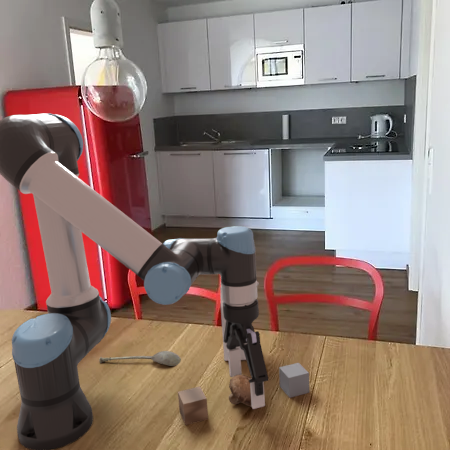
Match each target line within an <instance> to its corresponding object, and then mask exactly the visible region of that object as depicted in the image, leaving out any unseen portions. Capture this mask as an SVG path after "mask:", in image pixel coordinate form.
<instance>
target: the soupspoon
mask: <svg viewBox="0 0 450 450" xmlns="http://www.w3.org/2000/svg"><path fill="white" fill-rule="evenodd" d="M135 359H136V360H138V359H141V360H151V361H152V362H155V363H158V364H161V365H164V366H168V367H169V366H170V367H174V366H175V367H177V366H178V365H179V364H180V363H181V361H182V357H180V356H179V354H177V353H175V352H173V351H171V350H170V351H169V350H161V351H158V352H156V353H155V354H153V355H152V356H151V355H150V356H149V355H135V356H134V355H133V356H119V357H110V356H109V357H102V356H101V357H99V361H98V362H99V364H102V363H105V362H108V361H110V362H111V361H113V360H114V361H115V360H116V361H117V360H135Z"/></svg>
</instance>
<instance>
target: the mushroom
mask: <svg viewBox="0 0 450 450" xmlns="http://www.w3.org/2000/svg"><path fill="white" fill-rule="evenodd" d="M250 379H252V378H251V376H248V375H245V374H242V375H235V376H234V377H231V378H230V381H229V384H228V387H229V390H230V392H231V393H230V394H229V395H228V400H229V403H231V404H232V405H239V404H240V403H242V404H244V405H245V406H249V407H251V408H252V405H251V390H250V383H249V380H250Z"/></svg>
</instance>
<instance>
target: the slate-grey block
mask: <svg viewBox="0 0 450 450" xmlns="http://www.w3.org/2000/svg"><path fill="white" fill-rule="evenodd" d="M278 374H279V375H278V376H279V387H280V388H281V389H282V391H283V393H285V395H286V396H287V397H288V398H295V397H298V396H301V395H305V394H308V393H310V373H309V371H308V370H307V369H306V368H305V367H304V366H303V365H302V364H301V363H299V362H296V363H295V362H294V363H292V364H288V365H287V364H286V365H283V366H279V367H278Z"/></svg>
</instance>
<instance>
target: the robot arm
mask: <svg viewBox="0 0 450 450" xmlns="http://www.w3.org/2000/svg"><path fill="white" fill-rule="evenodd" d="M83 152H84V140H83V136H82V133H81V131H80V129H79V128H78V126H77V125H76V124H75V123H74V122H73V121H72V120H71V119H69V118H67V117H65V116H63V115H60V114H56V113H55V114H53V113H50V112H49V113H45V112H44V113H43V112H42V113H37V114H12V115H9V116H6V117H3V118H1V119H0V176H2V177H3V178H4V180H6V181H7V182H8V183H9V184H10V185H11V186H13V187H14V188H15V189H16V190H18V191H19V192H20V193H22V194H24V195H28V194H32V196H33V200H34V202H33V203H34V207H35V211H36V216H37V221H38V222H37V223H38V228H39V233H40V239H41V244H42V248H43V253H44V259H45V263H46V264H45V265H46V271H47V276H48V280H49V287H50V291H51V292H50V295H49V296H48V297H47V299H46V301H45V304H46V308H47V309H46V310H47V313H43V314H41V315H37V316H36V317H35V318H30V319H28V320H26V321H24V322H23V323H22V324H20V325H19V326H18V327H17V329H15V331H14V332H13V335H12V338H11V348H12V349H11V355H12V359H13V361H14V362H13V363H14V367H15V373H16V379H17V382H18V390H19V394H20V399H21V400H20V401H21V404H20V408H19V409H20V410H19V414H18V419H17V425H16V432H17V437H18V441H19V443H20V445H22V446H23V447H24V448H26V449H29V450H56V449H58V448H59V449H60V448H63V447H65V446H67V445H70V444H72V443H74V442H75V441H77V440H78V439H80V438H82V437H83V436H84V435H86V434H87V432H88V431H89V430H90V428H91V426H92V425H93V424H94V423H93V422H94V415H93V408H92V405H91V403H90V401H89V400H88V398H87V396H86V395H85V393H84V391H83V389H82V387H81V384H80V378H79V369H78V365H79V363H80V362H81V361H82V360H83V359H84V358H85V357H86V356H87V355H88V354H89V353H90V352H91V351H92V350H93V349H94V348H95V347H96V346H97V345H98V344H100V343H101V341H102V340H103V339H104V338H105V336H106V334H107V333H108V331H109V329H110V327H111V323H112V314H111V310H110V307H109V305H108V303H107V302H106V301H104V300H103V297H101V296H100V292H99V290H98V288H96V287H94V286H93V285H91V280H90V274H89V268H88V263H87V255H86V249H85V244H84V239H83V235H85V236H86V237H88V238H89V239H90V240H91V241H93V242H94V243H95V244H97V245H98V246H99V247H100V248H102V250H105V252H107V253H108V254H110V256H112V257H114V258H115V260H117V261H118V262H119V263H121V264H122V265H124V266H125V267H126V268H127V269H129V270H130V271H132V273H134V275H136V276H137V277H139V278H140V279H141V280H142V281H143V287H144V290H145V292H146V295H147V297H148V298H149V299H150V300H152V301H153V302H154V303H156V304H158V305H159V304H160V305H164V306H165V305H167V306H168V305H173V304H175V303H177V302H178V301H179V300H180V299H182V298H183V296H185V295H186V294H187V293H188V292H189V290H190V287H191V286H192V285H193V283H194V282H195V281H196V280H197V278H198V277H199V275H219V276H220V287H221V293H222V300H223V301H224V302H223V315H224V318H225V320H226V325H225V333H224V342H225V343H227V346H226V347H227V349H229V350H228V359H229V361H228V369H229V370H228V371H229V372H228V373H229V377H230V378H233V377H234V376H235V375H243V373H242V360H241V357H240V349H239V348H236V347H239V346H240V348H241V349H242V350H243V351H244V354H245V357H246V360H245V361H246V363H247V367H248V370H249V375H250V378H251V379H250V380H249V383H250V390H251V405H252V407H251V408H252V410H256V409H258V408H263V407H265V406H266V403H265V402H266V400H265V397H266V396H265V382H268V381H269V375H268V371H267V366H266V361H265V358H264V353H263V348H262V344H261V336H260V335H261V334H260V332H259V331H258V330H257V331H255V328H254V326H253V322H254V321H256V320H257V319H258V317H259V315H260V313H259V312H260V310H259V309H260V308H259V300H258V299H257V298H258V286H259V281H257V279H258V277H257V260H256V259H257V258H256V250H257V249H256V245H255V240H254V232H253V230H252V229H251V228H250V227H247V226H244V225H243V226H240V225H235V226H234V225H232V226H225V227H222V228H220V229H219V230H218V231H217V236H216V237H214V238H205V237H204V238H184V237H183V238H182V237H179V238H178V237H177V238H174V239H167V240H165V241H164V242H161V241H160V240H159V239H157V238H156V237H155V236H153V235H152V234H151V233H150V232H148V231H147V230H146V229H144V228H143V227H142V226H141V225H139V224H138V223H137V222H135V221H134V220H133V219H132V218H131V217H130V216H128V215H127V214H125V213H124V212H123V211H121V210H120V209H119V208H118V207H117V206H116V205H114V204H112V202H110V201H109V200H107V199H106V198H105V196H103V195H102V194H100V193H98V192H97V191H96V190H95V189H93V188H92V187H91V186H89V185H88V183H86V182H84V181H83V180H82V179H81V178H80V177H79V175H80V171H79V164H78V161H79V159H80V158H81V156H82V154H83ZM221 293H220V294H221ZM245 343H247V344H245Z"/></svg>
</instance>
